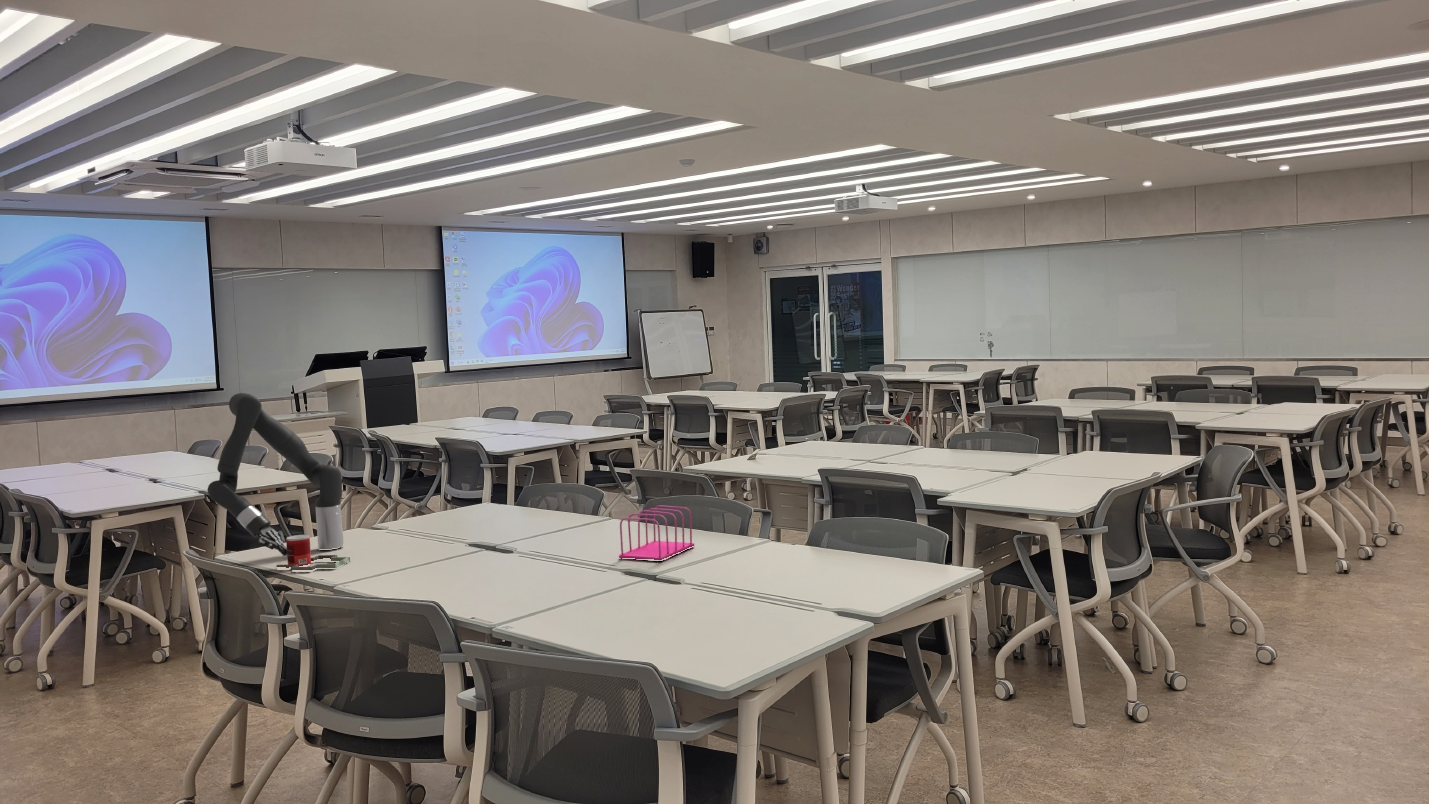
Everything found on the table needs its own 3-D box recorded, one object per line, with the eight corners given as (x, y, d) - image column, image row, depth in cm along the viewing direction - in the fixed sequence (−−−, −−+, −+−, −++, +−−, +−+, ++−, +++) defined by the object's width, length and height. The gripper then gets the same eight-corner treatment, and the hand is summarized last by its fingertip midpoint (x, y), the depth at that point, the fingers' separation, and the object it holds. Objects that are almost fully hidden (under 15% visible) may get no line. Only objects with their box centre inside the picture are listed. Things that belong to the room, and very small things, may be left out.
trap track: (298, 560, 363) (298, 555, 363) (355, 559, 360) (354, 554, 360) (270, 573, 344) (270, 567, 344) (329, 572, 342) (329, 566, 342)
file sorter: (694, 548, 359) (693, 506, 358) (661, 563, 337) (659, 518, 336) (654, 545, 367) (652, 504, 366) (618, 559, 344) (616, 516, 343)
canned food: (315, 564, 356) (313, 534, 356) (304, 569, 348) (302, 538, 348) (295, 564, 357) (293, 534, 356) (283, 569, 349) (281, 539, 348)
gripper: (249, 517, 346) (284, 550, 346) (270, 510, 359) (303, 542, 359) (236, 531, 347) (270, 565, 347) (257, 524, 360) (290, 557, 360)
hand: (287, 553), depth 353 cm, fingers closed
